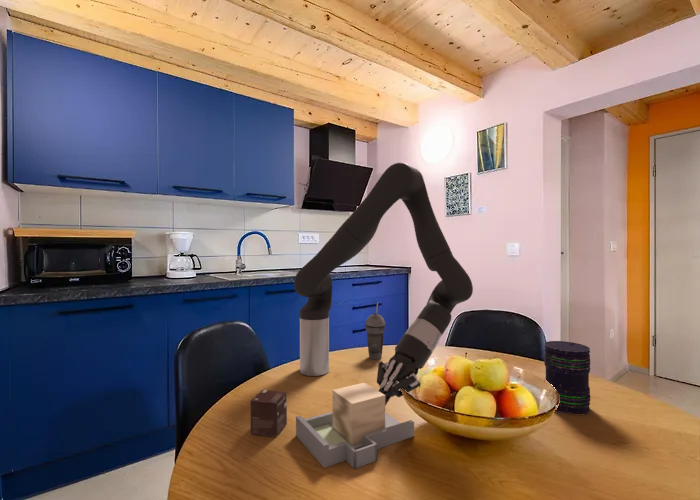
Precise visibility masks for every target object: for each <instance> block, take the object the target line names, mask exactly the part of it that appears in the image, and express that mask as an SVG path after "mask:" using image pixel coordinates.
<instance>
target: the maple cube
mask: <svg viewBox="0 0 700 500" xmlns="http://www.w3.org/2000/svg"><path fill="white" fill-rule="evenodd" d="M332 411H333V428H334V429H335V430H336V431H337V432H338V433H339V434H341V435H342V436H343V437H344V438H345V439H346V440H347V441H348V442H349V443H351V444H352V445H353V444H356V443H359V442H362V441H363V435H366V434H369V433H372V432H375V431H378V430H381V429H384V428H385V413H386V405H385V395H384V394H383V393H381V392H379V390H377V389H376V388H374V387H372V386H370V385H369V384H367V383H365V382H360V383H357V384H352V385H348V386H344V387H340V388H336V389H335V388H334V389H332Z"/></svg>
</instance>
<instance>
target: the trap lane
mask: <svg viewBox="0 0 700 500" xmlns="http://www.w3.org/2000/svg"><path fill="white" fill-rule="evenodd" d="M295 436H296V437H297V439H298V440H299V441H300V442H301V443H302V444H303V446H305V448H306V449H307V450H308V451H309V453H311V455H312V456H313V457H314V458H315V459H316V460H317V462H318V463H319V464H320V466H321V467H323V469H326V468H329V467H331V466H334V465H336V464H340V463H342V462H345V461H346V462H347V463H348V464H349V465H350V467H352V468H353V469H354V470H356V469H358V468H361V467H363V466H367V465H368V464H369V465H370V464H371V463H374V462H376V461H378V450H379V449H382V448H386V447H388V446H390V445H393V444H396V443H400V442H402V441H404V440H407V439H411V438H413V437H415V421H413V419H412V420H411V419H410V420H407V421H404V422H401V421H400V420H397V419H396V418H395V417H393V416H391V415H390V414H388V413H387V412H385V428H384V429H381V430H378V431H375V432H372V433H369V434H366V435H363V441H362V442H359V443H356V444H353V445H352V444H351V443H349V442H348V441H347V440H346V439H345V438H344V437H343V436H342V435H341V434H339V433H338V432H337V431H336V430H335V429H334V428H333V410H332V411H329V412H326V413H321V414H319V415H315V416H311V417H306V418H304V417H303V416H302V415H296V416H295Z"/></svg>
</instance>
